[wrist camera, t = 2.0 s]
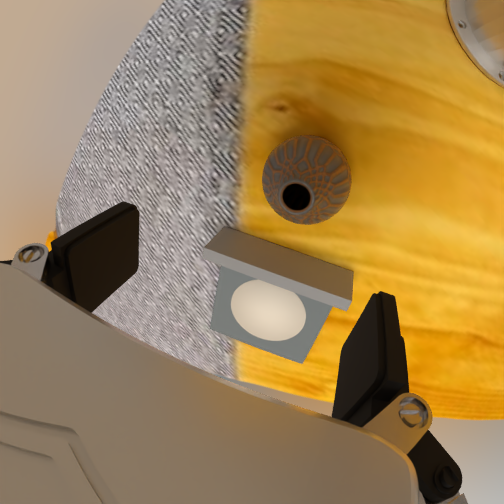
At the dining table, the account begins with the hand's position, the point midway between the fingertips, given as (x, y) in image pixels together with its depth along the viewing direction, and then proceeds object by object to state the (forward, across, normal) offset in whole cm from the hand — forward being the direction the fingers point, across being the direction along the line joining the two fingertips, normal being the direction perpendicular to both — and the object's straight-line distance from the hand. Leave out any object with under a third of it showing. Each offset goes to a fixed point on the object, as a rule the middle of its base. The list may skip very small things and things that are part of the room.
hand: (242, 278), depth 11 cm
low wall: (+18, 0, +8) cm, 20 cm away
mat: (+18, 0, +16) cm, 24 cm away
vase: (+18, 0, -1) cm, 18 cm away
